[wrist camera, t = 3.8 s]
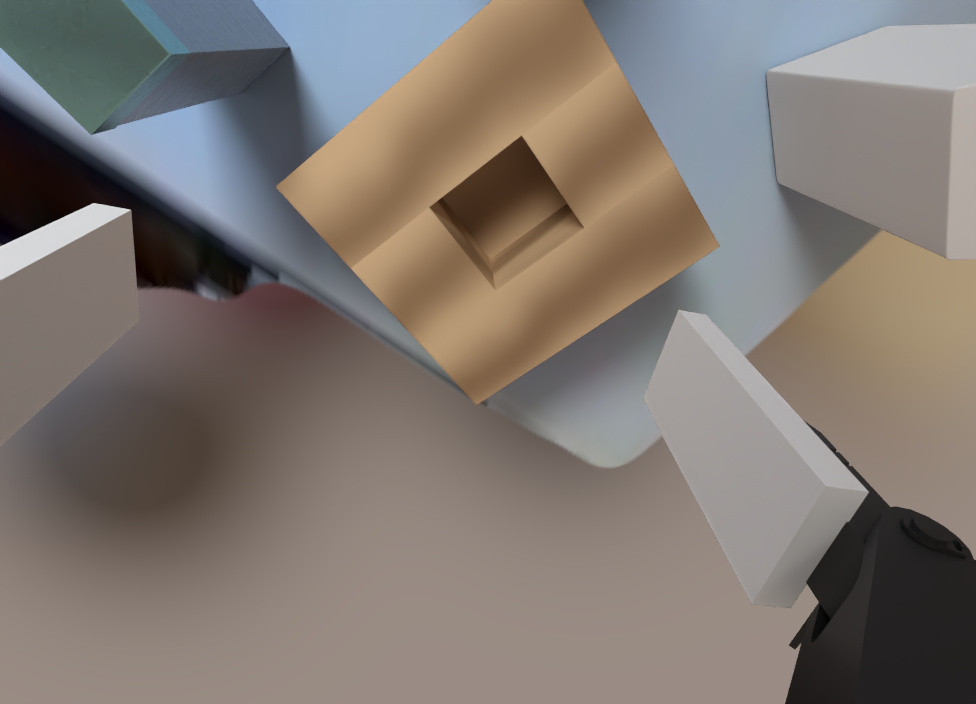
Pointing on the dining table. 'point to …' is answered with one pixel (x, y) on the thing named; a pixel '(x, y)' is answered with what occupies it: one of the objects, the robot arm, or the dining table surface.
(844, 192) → the milk carton
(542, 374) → the dining table surface
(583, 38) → the socket block
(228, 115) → the dining table surface
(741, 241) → the dining table surface
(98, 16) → the square bit
